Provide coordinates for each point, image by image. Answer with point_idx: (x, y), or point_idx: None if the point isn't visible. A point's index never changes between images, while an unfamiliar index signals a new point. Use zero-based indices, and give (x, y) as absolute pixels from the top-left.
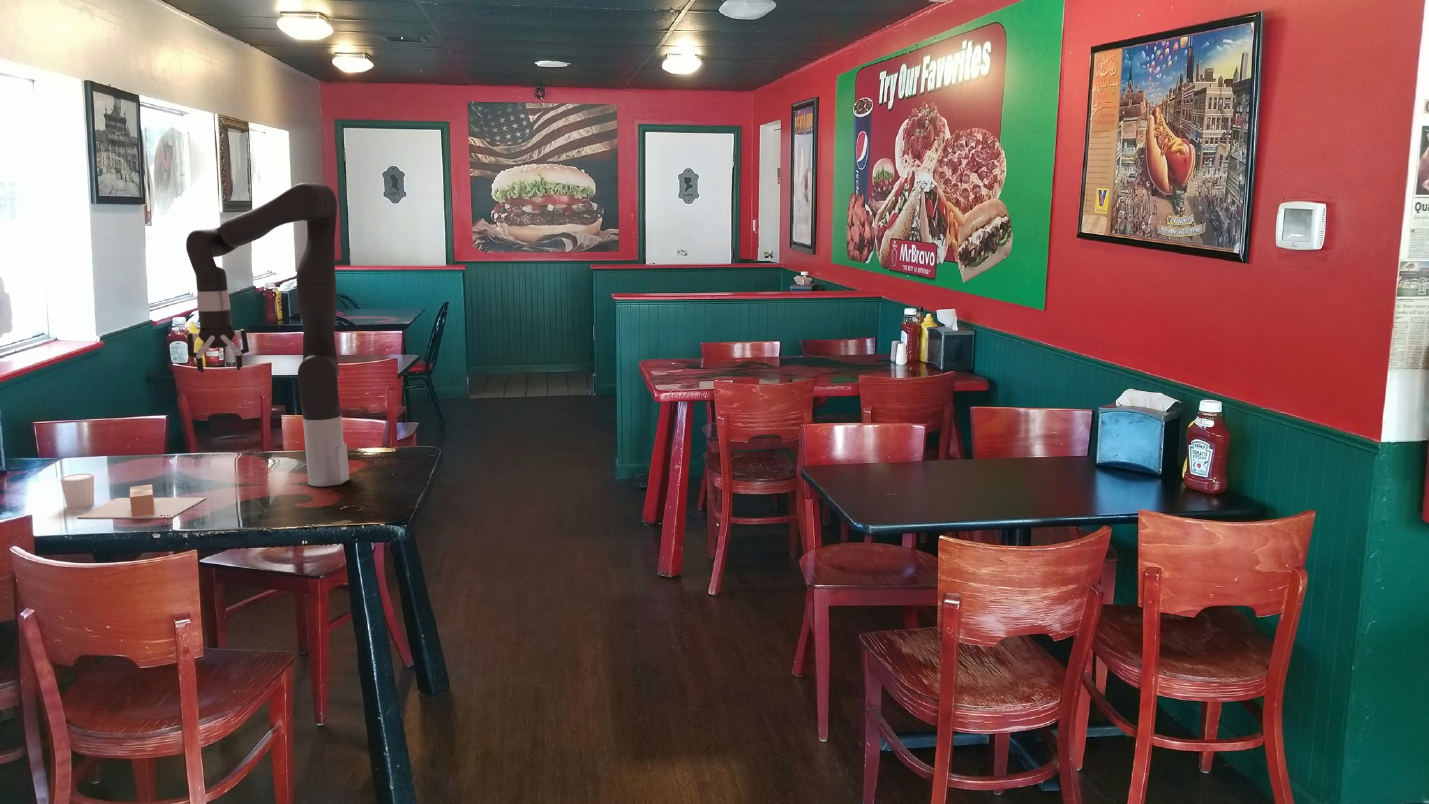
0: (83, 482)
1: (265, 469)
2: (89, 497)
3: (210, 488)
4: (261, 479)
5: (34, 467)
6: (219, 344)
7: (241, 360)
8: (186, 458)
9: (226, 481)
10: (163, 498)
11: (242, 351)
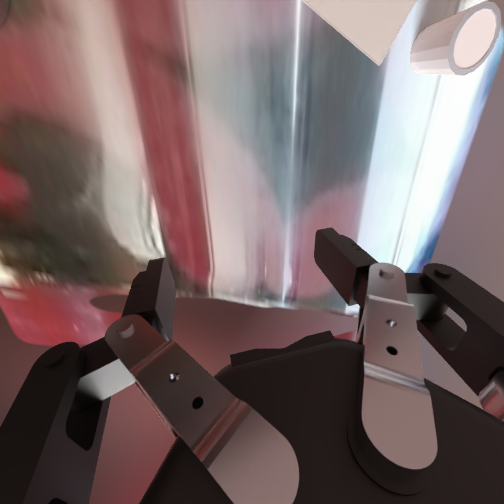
0: (469, 8)
1: (156, 187)
2: (432, 27)
3: (238, 69)
4: (148, 104)
5: None
6: (281, 373)
7: (130, 300)
8: (273, 285)
9: (213, 120)
10: (319, 5)
11: (99, 353)
